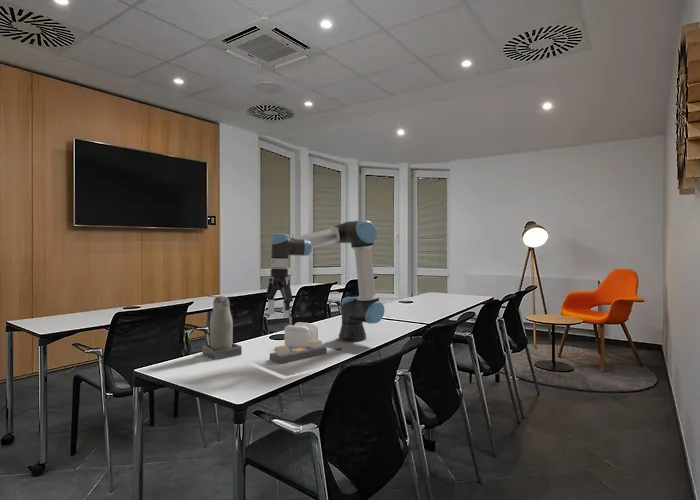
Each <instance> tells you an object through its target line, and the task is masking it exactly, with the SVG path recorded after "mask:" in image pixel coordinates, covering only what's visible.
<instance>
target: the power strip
mask: <svg viewBox="0 0 700 500" xmlns="http://www.w3.org/2000/svg"><path fill="white" fill-rule="evenodd" d="M297 348H298V347H294V349H297ZM300 348H302V349H306V351H303V352H294V351H292V349H293V348H291V349H290V348H289V355H284V356H279V355H276V354H275V352H271V353H269V360H270V361H272V362H274V363H277V364H280V365H282V364H286V363H290V362H296V361H299V360H305V359H309V358H313V357H317V356H321V355H326V354H328V351H329V349H327V348H328V347H326V346H323V345H322V348H317V349H312V348H308V346H305V347H300ZM331 350H335V351H342V347H336V348H331V349H330V351H331Z"/></svg>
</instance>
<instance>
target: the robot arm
mask: <svg viewBox="0 0 700 500" xmlns="http://www.w3.org/2000/svg"><path fill="white" fill-rule="evenodd" d="M376 227H377V226H375V225H374V223H373V222H371V221H370V220H362V219H361V220H351V221H350V220H349V221H346V222H342V223H340V224H337V225H333V226H330V227H329V228H328V229H324V230H321V231H320V230H319V231H314V232H310V233H307V234H302V235H298V236H294V237H291V238H290V235H289V234H288V233H274V234H272V236H271V252H270V253H271V254H270V255H271V260H270V265H271V266H270V267H271V269H270V278H269V281H268V285H267V290H266V293H265V298H266V299H267V302H268V303H267V314H268V315H275V296H276V294H277V292H278V291H280V294H281V297H282V298H283V302H282V303H283V305H282V318H283V319H288V318H290V305H291V302H293V301H294V299H293V295H292V290H291V286H290V284H291V283H290V279H286V278H288V276H289V269H288V268H289V256H302V257H304V256H309V255H310V254H311V253H312V250H313V249H314V248H317V247H318V248H319V247H323V246H326V245H330V244H333V245H337V244H350V247H351V249H353V250H354V257H355V266H356V268H355V269H356V276H357V286H358V293H359V294H358V296H351V297H343V298H342V299H341V305H340V306H341V309H340V310H341V327H340V330H339V333H338V340H340V341H344V342H361V341H365V340H366V339H367V333H366V331H365V327H364V323H367V324H377V323H379V322H380V321H381V320H382V319H383V318H384V316H385V311H386V310H385V305H384V304H383V303H382V302H381V301H380V299H379V295H377V293H376V286H375V284H376V283H375V276H374V265H373V258H372V257H373V256H372V248H373V247H374V242H375V241H376V239H377V235H378V232H377V228H376Z"/></svg>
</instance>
